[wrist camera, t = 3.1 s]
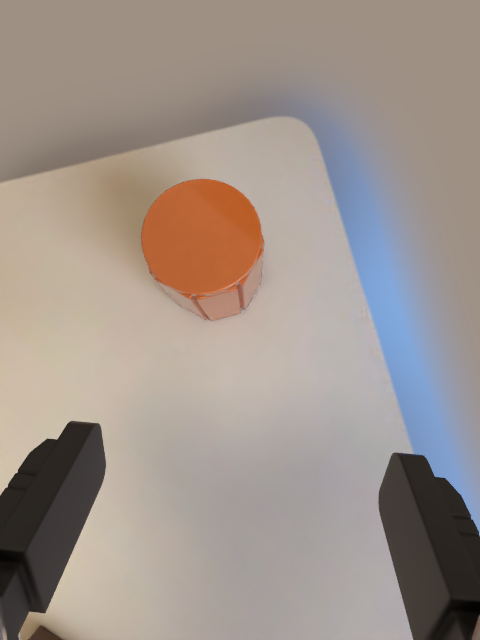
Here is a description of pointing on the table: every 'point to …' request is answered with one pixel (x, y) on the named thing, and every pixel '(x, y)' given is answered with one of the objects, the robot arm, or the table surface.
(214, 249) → the orange cup
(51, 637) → the cup stand
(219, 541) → the table surface
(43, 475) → the robot arm
